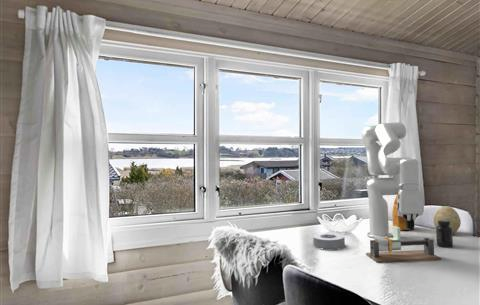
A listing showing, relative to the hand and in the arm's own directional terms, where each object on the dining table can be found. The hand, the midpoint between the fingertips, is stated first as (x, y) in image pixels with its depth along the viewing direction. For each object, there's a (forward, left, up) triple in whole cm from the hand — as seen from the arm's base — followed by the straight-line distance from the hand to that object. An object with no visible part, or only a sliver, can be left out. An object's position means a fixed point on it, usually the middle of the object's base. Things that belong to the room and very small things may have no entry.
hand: (410, 228), depth 159 cm
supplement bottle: (-14, +23, -12) cm, 30 cm away
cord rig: (+1, -5, -12) cm, 13 cm away
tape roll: (-24, -30, -12) cm, 40 cm away
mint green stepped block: (+1, -8, -8) cm, 11 cm away
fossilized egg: (-38, +40, -12) cm, 56 cm away
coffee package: (-54, +22, -12) cm, 60 cm away
